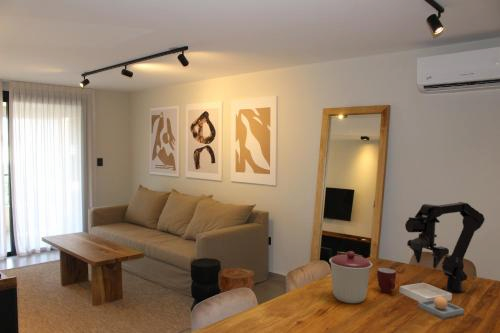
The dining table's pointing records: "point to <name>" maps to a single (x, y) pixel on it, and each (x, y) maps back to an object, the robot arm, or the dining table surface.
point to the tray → (442, 313)
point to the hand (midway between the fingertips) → (426, 265)
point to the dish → (424, 292)
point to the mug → (386, 279)
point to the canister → (350, 277)
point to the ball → (440, 302)
